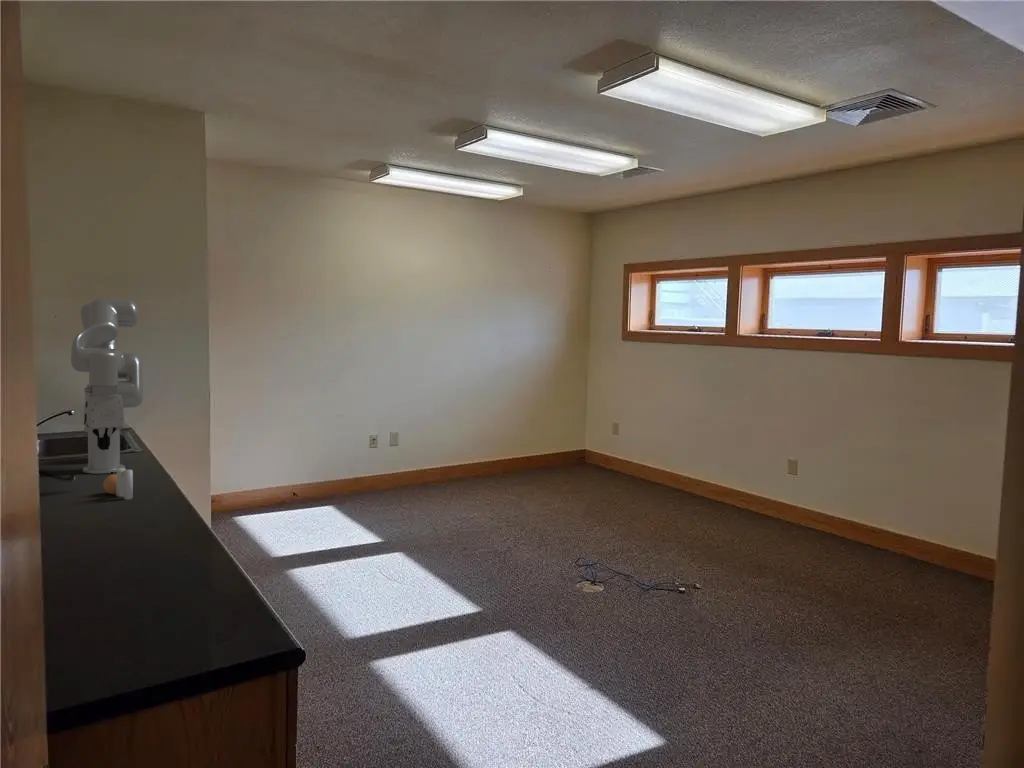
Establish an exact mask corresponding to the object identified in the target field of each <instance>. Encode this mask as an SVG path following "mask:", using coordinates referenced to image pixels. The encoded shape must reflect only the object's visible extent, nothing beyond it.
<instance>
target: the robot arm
mask: <svg viewBox="0 0 1024 768" xmlns="http://www.w3.org/2000/svg"><path fill="white" fill-rule="evenodd" d="M139 314H140V312H139V308H138V305H137V303H136V302H135V301H133V300H131V299H120V298H119V299H118V298H117V299H116V298H98V299H94V300H93V301H91V302H88V303H85V304H83V305H82V306H81V308H80V318H81V322H82V323H81V324H82V326H83V330H82V331H80V332H79V333H78V334H77V335H76V336H75V338H73V341H72V343H71V350H70V352H71V354H70V363H71V367H72V368H73V369H74V370H75V371H77V372H80V373H81V372H82V373H84V372H85V373H87V372H88V379H89V380H88V384H87V385H86V386H85V387H84V389H83V391H84V399H85V403H84V407H83V409H84V410H83V425H84V428H83V432H85V433H87V455H88V456H87V458H88V459H87V463H88V465H87V466H84V467H83V468H82V472H83V473H86V474H95V475H96V474H97V475H98V474H99V475H101V474H111V472H113V473H117V469H118V468H125V469H126V467H125V465H124V464H121V460H120V459H121V437H120V435H121V430H122V429H123V428H124V427H123V426H124V424H125V412H124V408H129V409H130V408H137V407H140V406H141V405H142V403H143V399H144V389H143V388H144V384H143V365H142V360H141V358H140V356H139V355H138V354H137V353H134V352H123V351H121V350H120V349H118V348H119V347H118V339H117V337H118V335H119V332H120V331H119V328H134V327H135V326H136V325H138V324H137V323H138V321H139V318H140V316H139Z"/></svg>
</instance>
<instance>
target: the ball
mask: <svg viewBox="0 0 1024 768" xmlns="http://www.w3.org/2000/svg"><path fill="white" fill-rule="evenodd" d="M116 474H117V473H116ZM116 474H110V475H108V476H107V477H106V478H105V479H104V481H103V483H102V486H103V489H104V491H105V492H107V493H108V494H111V495H116Z"/></svg>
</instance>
